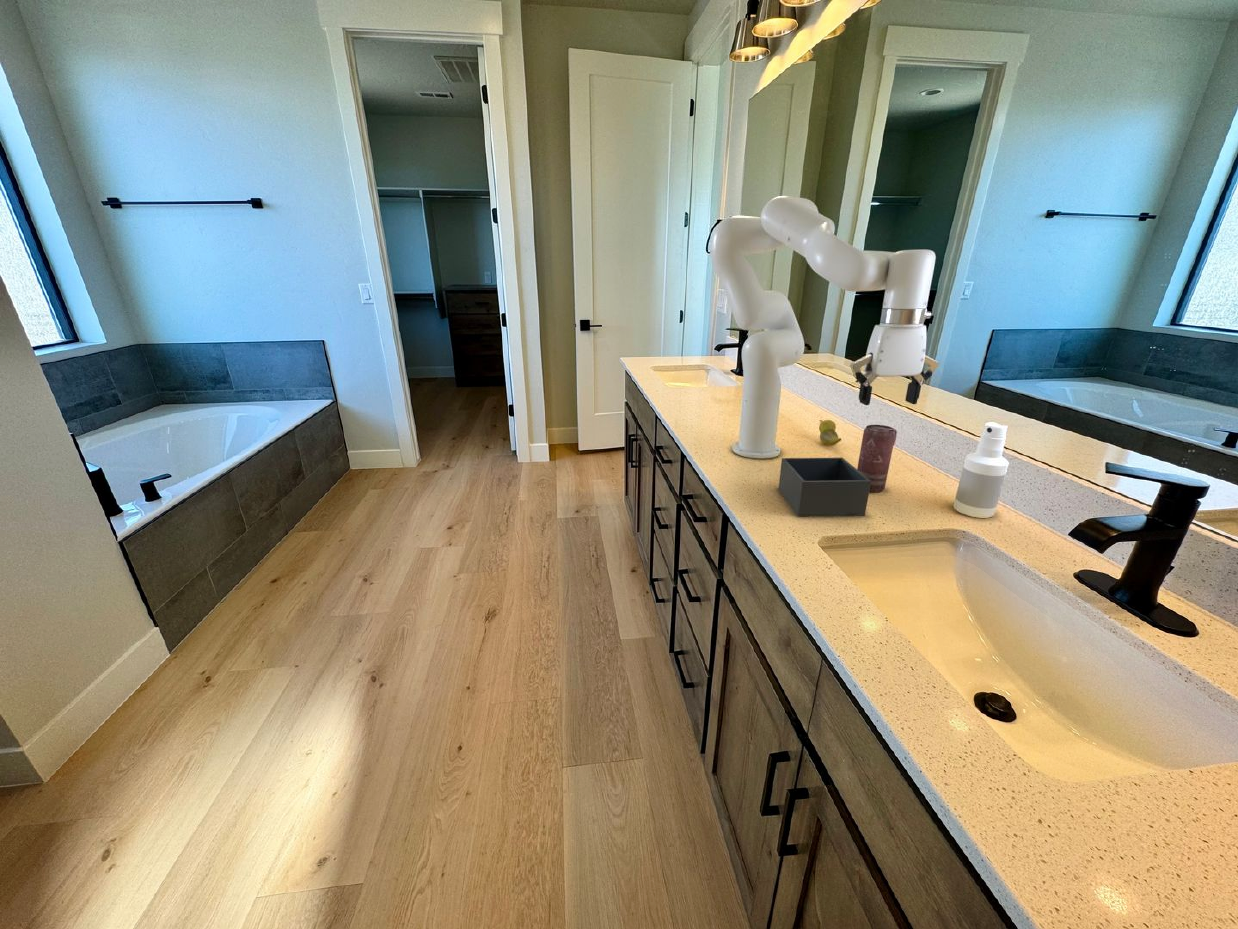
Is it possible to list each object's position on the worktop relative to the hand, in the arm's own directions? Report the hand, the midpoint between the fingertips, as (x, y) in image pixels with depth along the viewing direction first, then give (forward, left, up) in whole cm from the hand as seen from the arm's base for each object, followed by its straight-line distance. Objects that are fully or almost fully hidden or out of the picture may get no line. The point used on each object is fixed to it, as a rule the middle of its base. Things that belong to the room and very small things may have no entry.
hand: (887, 403), depth 103 cm
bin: (+7, -14, -19) cm, 25 cm away
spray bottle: (+12, +15, -20) cm, 27 cm away
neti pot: (-30, +2, -20) cm, 36 cm away
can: (0, 0, -20) cm, 20 cm away
